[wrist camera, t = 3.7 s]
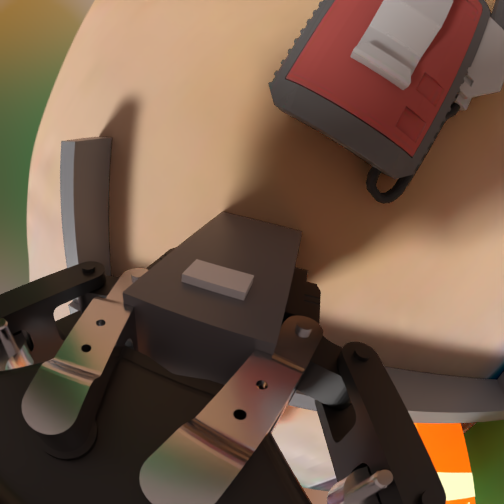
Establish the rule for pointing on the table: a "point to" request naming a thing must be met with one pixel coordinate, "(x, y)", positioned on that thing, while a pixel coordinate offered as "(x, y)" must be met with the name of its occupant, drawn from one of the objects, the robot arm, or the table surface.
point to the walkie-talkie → (390, 76)
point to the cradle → (406, 382)
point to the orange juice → (449, 459)
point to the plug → (216, 297)
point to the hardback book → (487, 460)
